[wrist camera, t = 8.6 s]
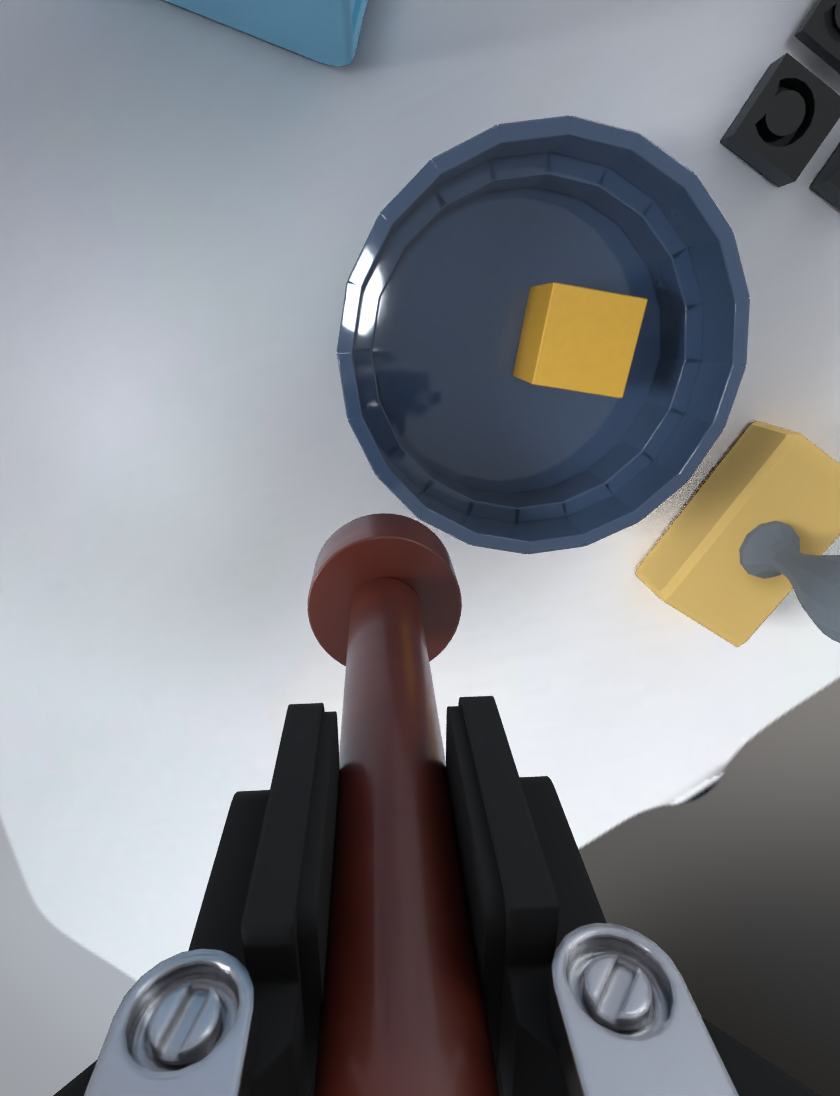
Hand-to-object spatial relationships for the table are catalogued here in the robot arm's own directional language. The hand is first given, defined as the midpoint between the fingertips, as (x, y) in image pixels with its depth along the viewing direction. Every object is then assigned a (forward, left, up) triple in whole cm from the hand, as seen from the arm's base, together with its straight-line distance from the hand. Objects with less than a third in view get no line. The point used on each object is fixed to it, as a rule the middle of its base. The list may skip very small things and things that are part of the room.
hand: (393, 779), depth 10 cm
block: (+5, +10, -22) cm, 25 cm away
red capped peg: (0, 0, -9) cm, 9 cm away
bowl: (+3, +8, -23) cm, 25 cm away
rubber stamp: (+18, +6, -23) cm, 30 cm away
